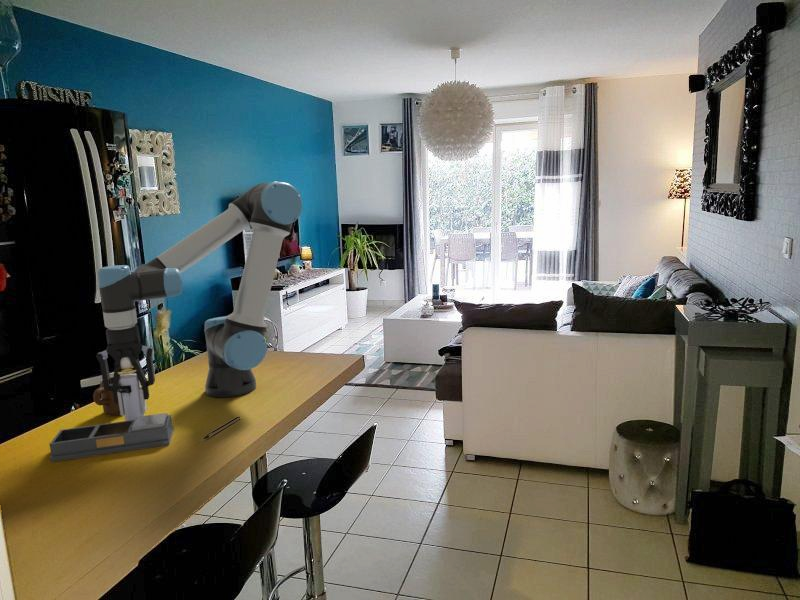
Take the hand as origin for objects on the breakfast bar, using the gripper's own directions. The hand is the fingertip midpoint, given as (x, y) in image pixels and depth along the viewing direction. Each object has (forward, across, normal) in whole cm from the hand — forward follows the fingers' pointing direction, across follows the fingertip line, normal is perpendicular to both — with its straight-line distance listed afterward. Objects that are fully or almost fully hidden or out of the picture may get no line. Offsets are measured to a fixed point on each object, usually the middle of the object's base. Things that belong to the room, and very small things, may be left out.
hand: (134, 412), depth 153 cm
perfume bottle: (+4, 0, 0) cm, 4 cm away
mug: (+4, +8, -13) cm, 16 cm away
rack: (+4, +3, +10) cm, 11 cm away
